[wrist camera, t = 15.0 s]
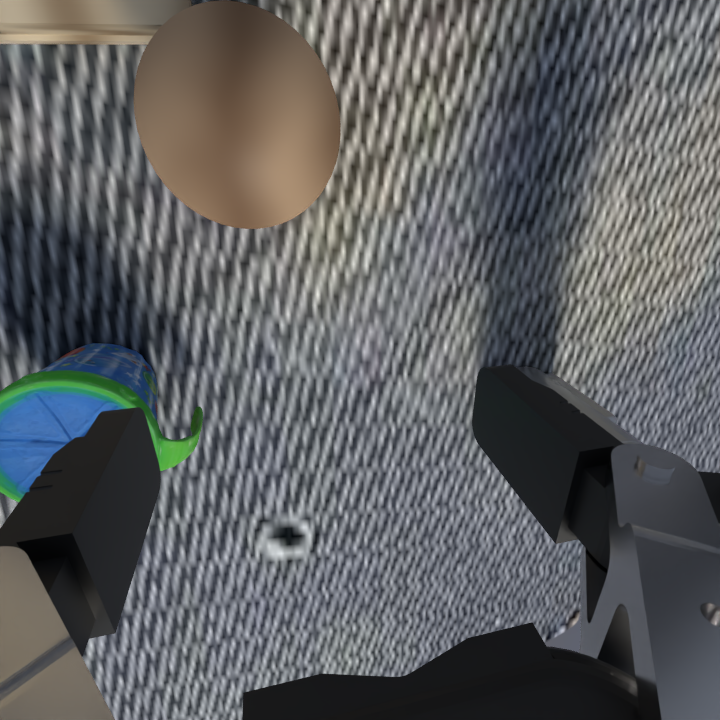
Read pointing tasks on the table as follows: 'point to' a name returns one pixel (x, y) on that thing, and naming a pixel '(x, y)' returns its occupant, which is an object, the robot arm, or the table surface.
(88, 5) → the shallow rimmed tray
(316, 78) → the tan spool shaped stand
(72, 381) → the snack cup
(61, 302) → the table surface
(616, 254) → the table surface
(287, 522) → the table surface
